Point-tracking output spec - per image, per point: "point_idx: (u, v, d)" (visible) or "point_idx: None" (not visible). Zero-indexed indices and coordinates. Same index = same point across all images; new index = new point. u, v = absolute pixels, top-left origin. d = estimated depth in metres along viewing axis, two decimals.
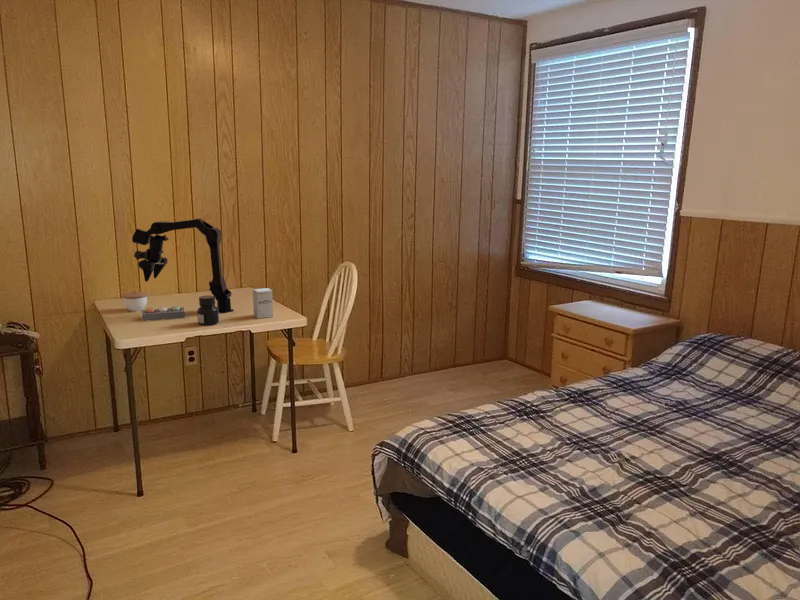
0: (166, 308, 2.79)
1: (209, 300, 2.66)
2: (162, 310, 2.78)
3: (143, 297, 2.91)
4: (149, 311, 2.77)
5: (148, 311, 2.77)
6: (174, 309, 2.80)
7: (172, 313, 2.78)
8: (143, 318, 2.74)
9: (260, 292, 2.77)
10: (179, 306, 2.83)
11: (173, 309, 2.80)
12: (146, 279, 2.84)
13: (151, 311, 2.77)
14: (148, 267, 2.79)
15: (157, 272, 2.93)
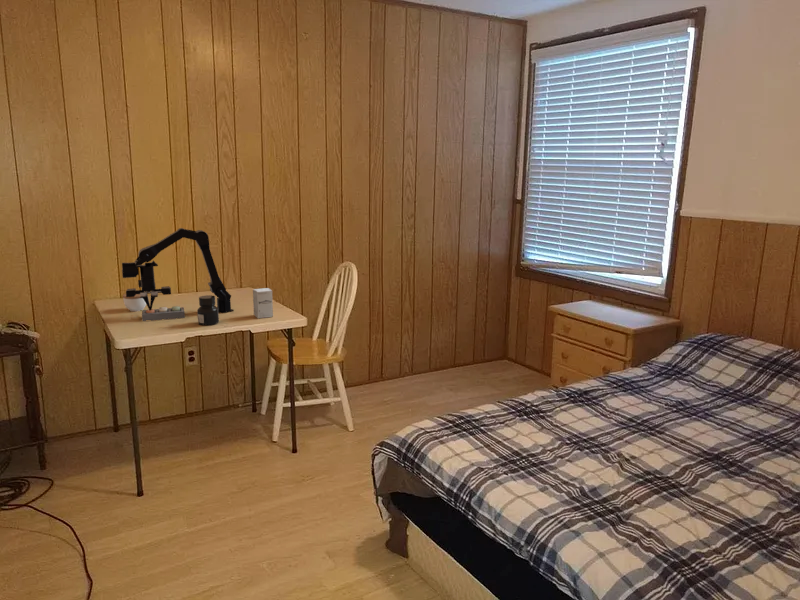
0: (166, 308, 2.79)
1: (209, 300, 2.66)
2: (162, 310, 2.78)
3: None
4: (149, 312, 2.77)
5: (148, 312, 2.77)
6: (174, 309, 2.80)
7: (172, 313, 2.78)
8: (143, 318, 2.74)
9: (260, 292, 2.77)
10: (179, 306, 2.83)
11: (173, 309, 2.80)
12: None
13: (151, 312, 2.77)
14: (126, 295, 2.71)
15: (150, 304, 2.77)
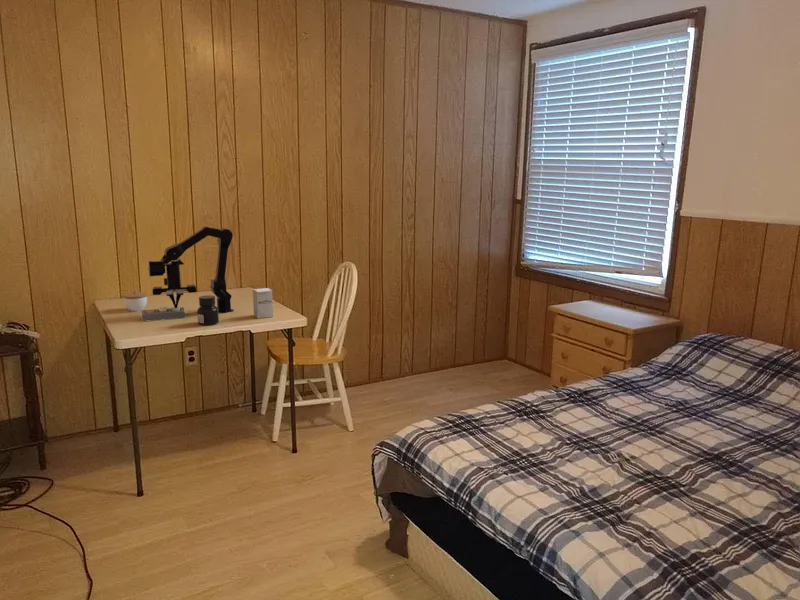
0: (166, 308, 2.79)
1: (209, 300, 2.66)
2: (162, 310, 2.78)
3: (143, 297, 2.91)
4: None
5: None
6: (174, 310, 2.80)
7: (172, 313, 2.78)
8: (143, 318, 2.74)
9: (260, 292, 2.77)
10: (179, 307, 2.83)
11: (173, 310, 2.81)
12: (174, 305, 2.81)
13: None
14: None
15: (176, 301, 2.81)
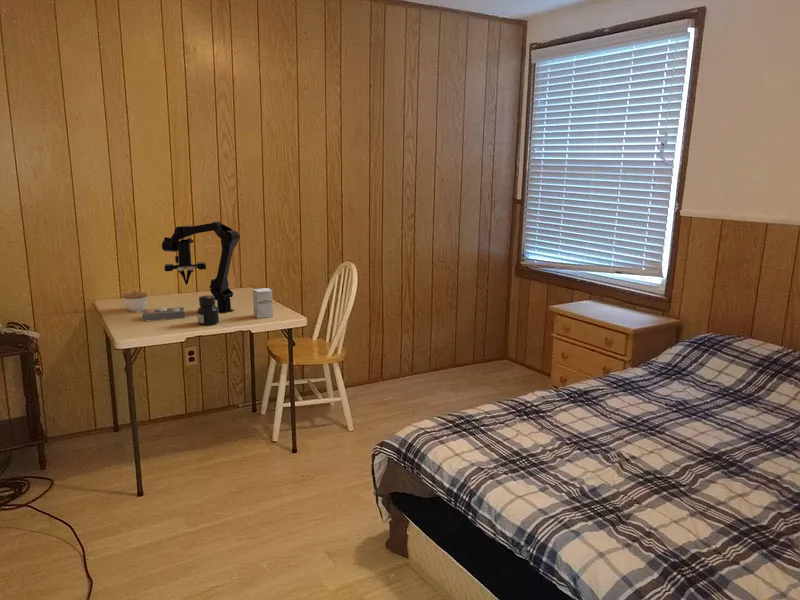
0: (166, 308, 2.79)
1: (209, 300, 2.66)
2: (162, 310, 2.78)
3: (143, 297, 2.91)
4: None
5: None
6: None
7: (172, 313, 2.78)
8: (143, 318, 2.74)
9: (260, 292, 2.77)
10: (179, 308, 2.83)
11: None
12: None
13: None
14: None
15: None
